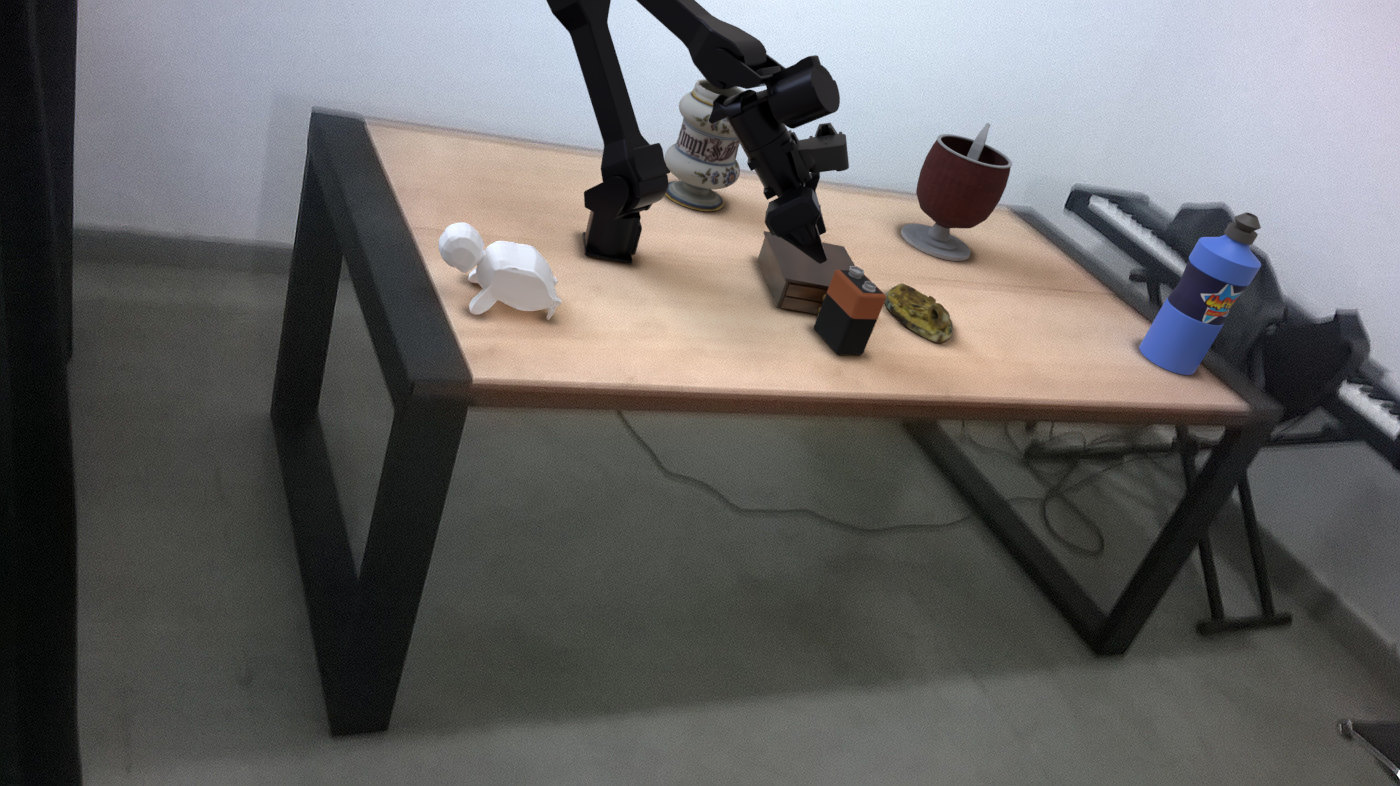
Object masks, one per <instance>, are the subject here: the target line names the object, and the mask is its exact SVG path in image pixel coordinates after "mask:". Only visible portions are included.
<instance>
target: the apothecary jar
mask: <svg viewBox="0 0 1400 786" xmlns="http://www.w3.org/2000/svg"><path fill="white" fill-rule="evenodd" d="M743 91H745V90H744V89H743V88H741V87H736V88H730V89H717V88H715V87H713V86H712V85H711V84H710V83H709V82H708V81H707V80H706V79H705V78H701V79H697V81H695V84H694V87H693V88H692V91H689V92H687V93H686V94H684V95H683V96H682V97H681V98H680V100H679V102H678V111H679V113H680V114H681V115H680V116H682V117H683V118H682V122H681V126H680V130H679V133H678V135H677V136H678V137H677V140H676V142H675V143H673V144H672V145H670V146H669V147H668V148H667V149H666V151H665V154H664V160H665V163H666V165H667V167H668V169H669V170H670V174H672V175H673V176H674V177H676V178H677V179H678V180H677V181H668V182H669V183H668V189H667V190H666V193H665V195H664V196H666V197H667V198H668V199H669V200H670V201H672V202H673V203H676V204H678V205H680V206H682V207H684V208H688V209H690V210H695V211H701V212H716V211H719V210H721V209H722V208H723V207H724V200H723V198H722V197H721V195H720V194H719V193H718V192H717V191H714V190H722V189H726V188H728V187H730V186H732V185H734V184H735V183H737V180H738V179H739V178H740V175H741V169H740V168H741V167H740V164H739V162H738V160H737V157H738V156H737V155H738V152H739V147H740V145H741V144H740V143H739V141H738V139H737V137H736V135H735V134H734V132H733V130H732V128H731V126H730V124H729V123H728V121H727V119H726V118H725V119H723V120H720V121H718V122H716V123H713V124H711V123H710V122H709V118H710V115H711V112H712V109H713V101H714V100H715V99H716V98H717V96H718V95H719V94H723V95H725V96H734V95H737V94H739V93H741V92H743Z"/></svg>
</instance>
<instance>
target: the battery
mask: <svg viewBox="0 0 1400 786" xmlns="http://www.w3.org/2000/svg"><path fill="white" fill-rule="evenodd" d="M885 299H886V294H885V293H884V292H883V291H882V290H881V289H880V288H879V286H877V285H876V283H874V282H873V281H872V280H870V278H869V277H868V276H867V275H866V274H865V271H864V269H863V268H861V267H858V266H856V265H855V266H850V267H849V270H836V271H835V272H834V275H833V277H832V280H831V283H830V285H829V288H828V291H827V293H826V296H825V298H824V301H823V304H822V306H821V309H820V312H819V314H817V317H816V320H815V322H814V325H813V329H814V331H815V332H816V333H817V334H818V335H819V336H820V337H821V339H823V340H824V342H825V343H826V344H827V345H828V346H829V347H830V348H831V350H833V352H834V353H835V354H836V355H839V356H845V355H846V356H847V355H848V356H854V355H855V356H858V355H859V356H860V355H861V356H862V355H863V354H864V352H865V350H866V348H867V345H868V342H869V340H870V338H871V335H872V334H873V330H874V328H875V326H876V323H877V321H878V319H879V316H880V314H881V311H882V309H883V306H884V305H885Z"/></svg>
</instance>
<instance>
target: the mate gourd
mask: <svg viewBox="0 0 1400 786" xmlns="http://www.w3.org/2000/svg"><path fill="white" fill-rule="evenodd" d="M990 128H991V124H990V123H989V122H985V125H984V126H983V127H982V128H981V129H980V131H979V133H978V134H977V135H976V137H975V139H973V138H970V137H966V136H961V135H957V134H950V133H943V134H939V135H937V137H936V140H935V141H934V143H933V144H932V145H931V148H930V149H929V151H928V152H927V154H926V156H925V158H924V161H923V163H922V166H921V168H920V170H919V171H920V172H919V175H918V180H917V183H916V190H915V194H916V198H917V202H918V205H919V208H920V209H921V211H922V212H923V213H924V214H925V215H926V216H928V217H929V218H930V219H931V220H932V221H933V222H934V224H933V225H927V224H923V223H922V224H921V223H907V224H904V225H903V226H902V228H901V230H900V235H901V236H902V239H904V240H905V242H907V243H908V244H909V245H910V246H911V247H914V248H915V249H916V250H918V251H920V252H923V253H925V254H927V255H929V256H932V257H934V258H938V259H941V260H945V261H950V262H965V261H967V260H968V259H969V258H970V255H971V249H970V247H969V245H967V244H966V243H965V242H964V241H962V240H961V239H960V238H959V237H957V236H955V235H953V234H951V233H950V232H951V229H972V228H975V227H976V226H978V225H980V224H982V223H983V222H985V221H987V219H989V217H990V216H991V215H992V213H993V212H994V210H996V207H997V206H998V204H999V202H1000V201H1001V199H1002V198H1003V197H1002V196H1003V194H1004V192H1005V191H1006V188H1007V185H1008V181H1009V177H1010V172H1011V168H1012V166H1013V162H1012V159H1010V158H1009V157H1008V156H1007V155H1006V154H1005V153H1003V152H1002V151H1000V150H998V149H996V148H994V147H992V146H991V145H988V144H986V142H987V139H988V138H987V137H988V135H989V130H990Z"/></svg>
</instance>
